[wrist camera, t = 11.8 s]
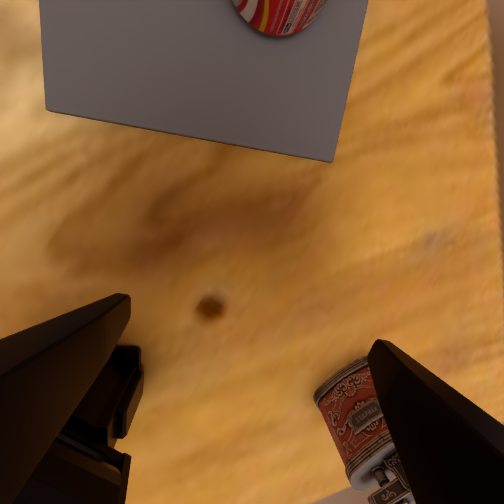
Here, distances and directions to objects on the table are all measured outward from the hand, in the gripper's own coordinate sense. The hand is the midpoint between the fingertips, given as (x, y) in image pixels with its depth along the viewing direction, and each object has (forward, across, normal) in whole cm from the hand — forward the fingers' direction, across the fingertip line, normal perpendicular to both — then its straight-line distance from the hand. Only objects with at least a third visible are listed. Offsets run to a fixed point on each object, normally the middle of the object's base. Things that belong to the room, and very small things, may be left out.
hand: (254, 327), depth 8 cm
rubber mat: (+13, +6, -14) cm, 20 cm away
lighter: (+11, -13, +14) cm, 22 cm away
